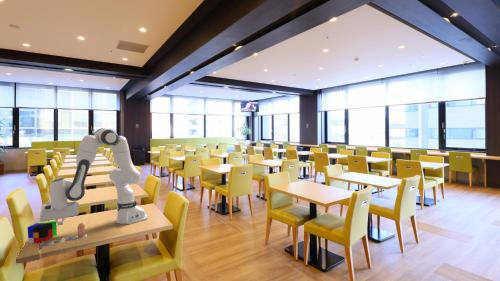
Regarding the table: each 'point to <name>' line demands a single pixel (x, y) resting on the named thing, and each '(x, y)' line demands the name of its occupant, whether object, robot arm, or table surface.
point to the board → (58, 241)
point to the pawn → (81, 230)
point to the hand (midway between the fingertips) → (60, 224)
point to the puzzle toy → (41, 231)
